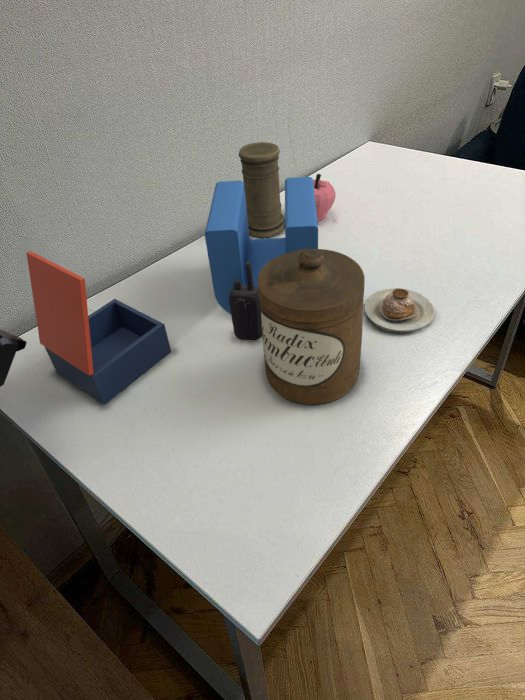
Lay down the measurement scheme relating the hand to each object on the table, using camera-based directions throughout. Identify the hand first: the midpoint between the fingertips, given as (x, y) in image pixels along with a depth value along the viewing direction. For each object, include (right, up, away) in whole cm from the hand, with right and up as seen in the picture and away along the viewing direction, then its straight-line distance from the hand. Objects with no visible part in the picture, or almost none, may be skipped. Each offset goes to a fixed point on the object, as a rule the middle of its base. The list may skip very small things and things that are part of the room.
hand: (23, 343), depth 70 cm
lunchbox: (+8, -3, +15) cm, 18 cm away
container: (+34, +27, +45) cm, 63 cm away
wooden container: (+41, -4, +11) cm, 43 cm away
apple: (+45, +29, +47) cm, 72 cm away
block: (+34, +11, +28) cm, 46 cm away
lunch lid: (+4, +5, +3) cm, 7 cm away
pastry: (+57, +6, +20) cm, 61 cm away
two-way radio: (+31, +1, +18) cm, 36 cm away
